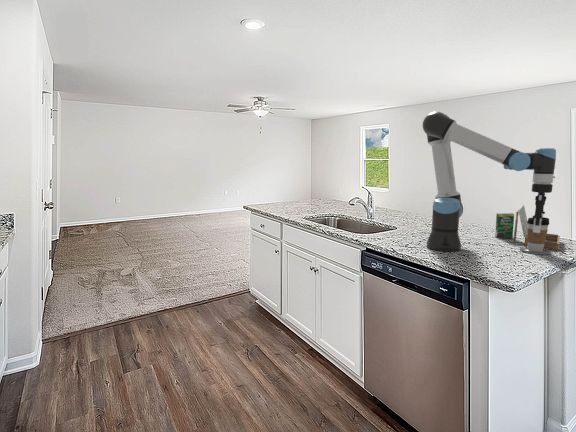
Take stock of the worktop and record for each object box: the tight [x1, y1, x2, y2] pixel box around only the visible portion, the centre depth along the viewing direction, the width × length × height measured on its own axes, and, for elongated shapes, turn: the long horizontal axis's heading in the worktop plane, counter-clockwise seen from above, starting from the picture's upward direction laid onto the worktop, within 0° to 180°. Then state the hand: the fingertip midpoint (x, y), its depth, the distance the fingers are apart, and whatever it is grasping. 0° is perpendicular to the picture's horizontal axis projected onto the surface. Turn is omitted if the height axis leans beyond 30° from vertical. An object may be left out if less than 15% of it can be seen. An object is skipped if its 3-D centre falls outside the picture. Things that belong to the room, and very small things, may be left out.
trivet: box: [519, 246, 552, 256], centre depth 169 cm, size 12×12×1 cm
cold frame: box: [512, 204, 561, 251], centre depth 184 cm, size 22×19×18 cm
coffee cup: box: [527, 216, 550, 252], centre depth 168 cm, size 8×8×15 cm
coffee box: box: [494, 212, 515, 239], centre depth 197 cm, size 8×3×13 cm, turn 77°
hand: (537, 230), depth 167 cm, fingers open, 13 cm apart
